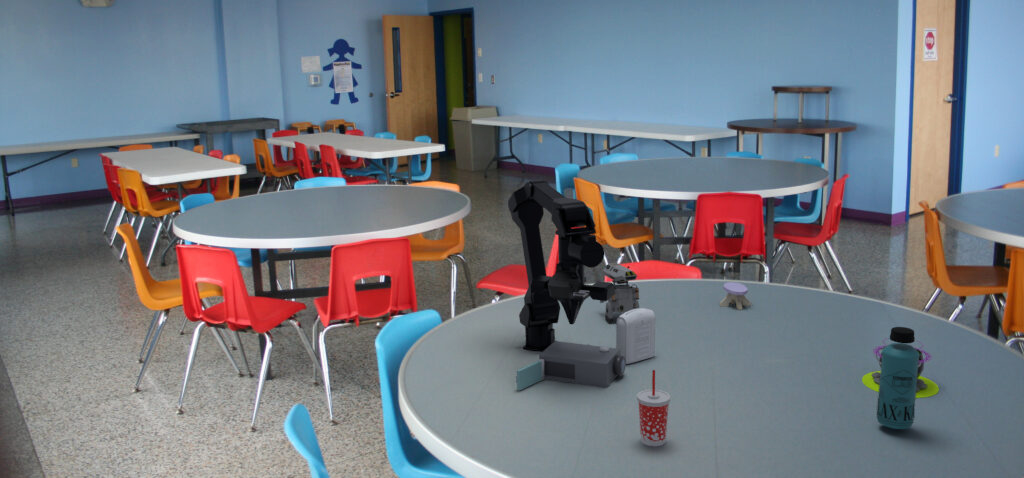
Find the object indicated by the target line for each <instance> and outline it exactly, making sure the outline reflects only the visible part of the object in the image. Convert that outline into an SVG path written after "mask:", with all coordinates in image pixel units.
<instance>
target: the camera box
mask: <svg viewBox="0 0 1024 478" xmlns="http://www.w3.org/2000/svg"><path fill="white" fill-rule="evenodd" d="M539 359H544V380H545V379H546V380H550V381H551V380H552V381H553V380H554V381H558V382H567V383H573V384H578V385H579V384H580V385H584V386H585V385H586V386H594V387H600V388H608V387H609V386H610V385H611V383H612V382H613V381H614V380H615V379H616V378H617V376H620V377H621V376H623V375H624V373H625V370H626V365H627V364H626V360H625V357H624V356H621V355H620V349H617V348H616V347H609V346H601V345H600V346H598V345H593V344H592V345H591V344H582V343H577V342H576V343H575V342H567V341H559V340H555V342H554V343H552V344H551V345H550V346H549V347H548V348H547V349H545V350H544V351H541V352H540V354H538V360H539Z"/></svg>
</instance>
